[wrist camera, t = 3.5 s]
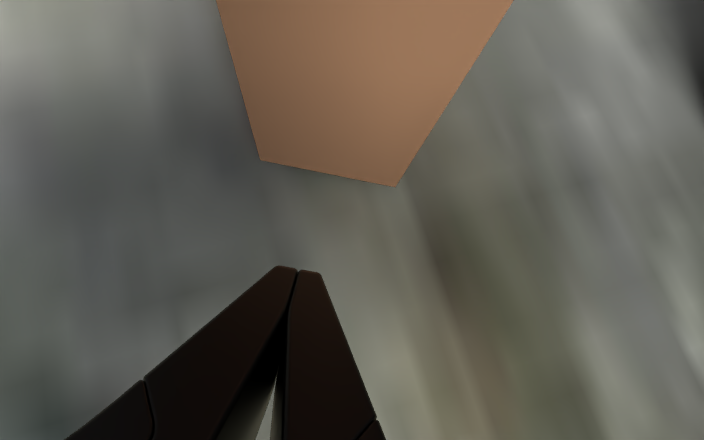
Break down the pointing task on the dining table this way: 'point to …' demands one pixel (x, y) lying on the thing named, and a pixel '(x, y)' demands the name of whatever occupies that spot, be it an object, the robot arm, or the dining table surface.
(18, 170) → the dining table surface
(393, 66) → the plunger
